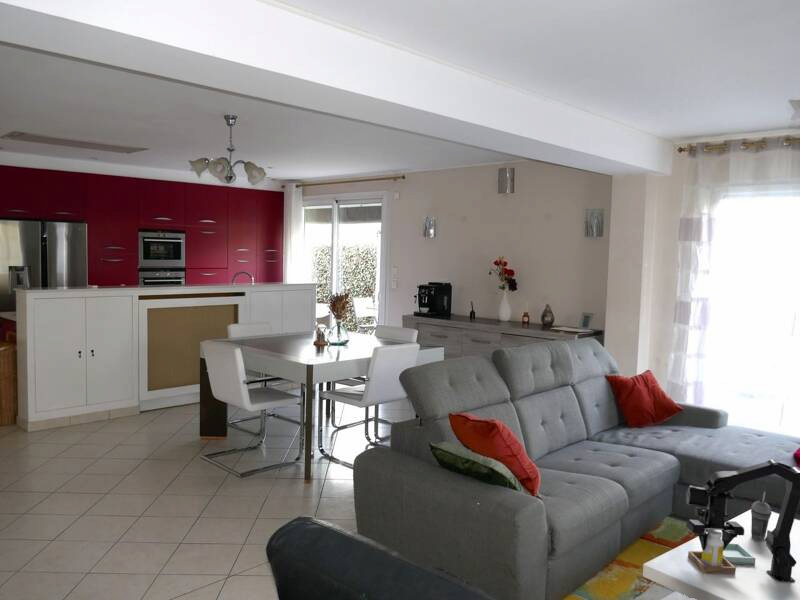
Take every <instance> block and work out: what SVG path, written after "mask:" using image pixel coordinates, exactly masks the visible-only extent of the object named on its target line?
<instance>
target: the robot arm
mask: <svg viewBox="0 0 800 600" xmlns="http://www.w3.org/2000/svg"><path fill="white" fill-rule="evenodd" d="M772 475H777V476H779V477H780V478H781V479H784V480H785V481H784V482H785V494H784V496H783V497H784V498H783V500H782V505H781V507H780V511H779V514H778V518H777V521H776V522H777V523H776V525H775V528H774V529H773V530H769V529H767V531H766V536H765V539H764V542H765V546H766V548H767V549H768V551H769V552H770V553H771V555H772V559H771V564H770V569H769V570H766V573H767V574H768V575H770V576H771V577H772V578H773V579H775V580H776V582H791V583H792V582H793V583H794V582H795V581H796V579H794V578H793V577H792V571H793V568H794V567H795V566H796V564H797V560H796V559H795V557H794V556H792V554H791V547H792V546H791V532H792V528H793V525H794V521H795V518H796V515H797V512H798V511H797V510H798V509H799V505H800V467H798V466H789V465H788V464H784V463H783V462H778V461H777V460H776V459H769V460H767V461H764V462H761V463H758V464H757V463H756V464H754V465H750V466H747V467H744V468H740V469H737V470H721V471H714V472H712V473H711V475H710V476H709V479H708V480H707V481H706V482H705V483H704V484H703V485H702V487H701V486H695V485H690V484H689V485H688V488H687V491H686V492H685V501H686V502H685V503H686V505H687V506H688V505H689V506H694V510H693V511H694V512H693V513H694V516H695V517H698V519H688V520H687V521H686V523H685V526H686V528H687V529H688V530H689V531H691V532H692V534H697V535H698V538H699V542H700V546H701V550H702V549H703V550H705V547H706V543H707V538H708V534H707V530H717V531H720V532H721V533H722V537H721V540H722V541H723V542H724V547H723V551H724V549H725V548H726V547H727V545H728V544H729V543H732V541H733V540H734V539H735V538H737V537H738V536H745V528H744V527H743V525H741V524H740V523H739V522H737V521H730V520H729V521H728V520H727V521H726V518H728V517H729V515H728V514H727V507H728V506H727V504H728V500H735V497H734V496H733V495H732V494H731V492H730V491H732V490H734V489H736V488H737V487H738V486H739V485H742V484H744V483H749V482H751V481H754V480H755V481H756V480H758V479H763V478H765V477H769V476H772ZM707 506H708V507H707ZM703 507H705V509H702V508H703ZM700 520H702V521H703V522H704V523H702V522H701V521H700Z"/></svg>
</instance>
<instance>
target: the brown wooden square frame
mask: <svg viewBox="0 0 800 600" xmlns="http://www.w3.org/2000/svg"><path fill="white" fill-rule="evenodd" d="M687 558H688V560H690V561H691V562H692V563H693V564H694V565H695V567H696V568H697V569H699V570H700V572H701V573H702V574H703V575H704V574H705V575H706V574H707V575H708V574H710V575H728V576H729V575H733V576H734V575H736V569H737V568H736V566H734V565H733V564H731V563H730V562H729V561H728V560H727V559H726V558H724V557H722V566H705V565H704V564H703V563H702V562H701V559H702V551H700V550H699V551H698V550H695V551H694V550H688V555H687Z"/></svg>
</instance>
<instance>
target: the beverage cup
mask: <svg viewBox="0 0 800 600" xmlns="http://www.w3.org/2000/svg"><path fill="white" fill-rule="evenodd" d="M765 497H766V491H763V496H762V500H756V501H754V502H753V503H752V504H751V507H750V512H751V531H750V532H751V539H753V540H754V541H757V542H765V540H764V539H765V538H766V536H767V531H768V526H769V521H770V518H771V515H772V508H771V506H770V505H769V503H767V502H766V501H765Z"/></svg>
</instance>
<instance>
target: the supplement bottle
mask: <svg viewBox="0 0 800 600" xmlns="http://www.w3.org/2000/svg"><path fill="white" fill-rule="evenodd" d="M706 533H707V534H708V538H707V543H706V547H705V550H703V549H702V548H701V550H702V551H701V552H702V559H700V561H701V562H702V563H703V564H704V565H705V566H723V565H722V557H723V547H724V542H723V541H722V531H721V530H708V529H706Z"/></svg>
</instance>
